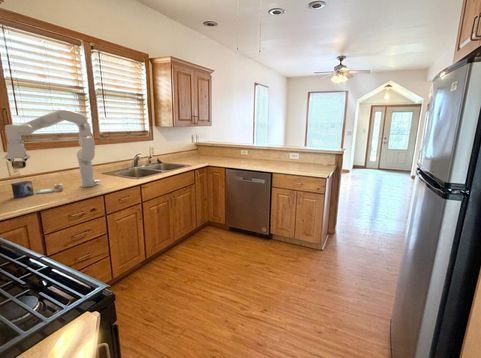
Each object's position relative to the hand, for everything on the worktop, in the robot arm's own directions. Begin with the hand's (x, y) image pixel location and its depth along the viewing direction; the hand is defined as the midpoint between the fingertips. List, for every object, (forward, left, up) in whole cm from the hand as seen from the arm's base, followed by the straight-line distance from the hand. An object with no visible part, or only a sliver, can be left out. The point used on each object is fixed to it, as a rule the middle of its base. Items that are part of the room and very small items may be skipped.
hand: (19, 167), depth 189 cm
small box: (+1, 0, -22) cm, 22 cm away
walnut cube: (0, 0, -1) cm, 1 cm away
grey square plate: (-11, -7, -22) cm, 26 cm away
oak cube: (-20, -7, -22) cm, 31 cm away
